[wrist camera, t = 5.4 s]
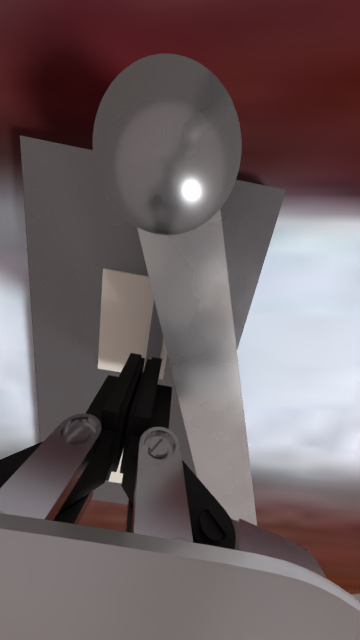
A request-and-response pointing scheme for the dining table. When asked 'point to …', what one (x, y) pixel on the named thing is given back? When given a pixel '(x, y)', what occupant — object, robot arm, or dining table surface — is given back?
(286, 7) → the dining table surface
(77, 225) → the chassis
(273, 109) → the dining table surface
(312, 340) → the dining table surface
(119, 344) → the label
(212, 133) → the swing arm
